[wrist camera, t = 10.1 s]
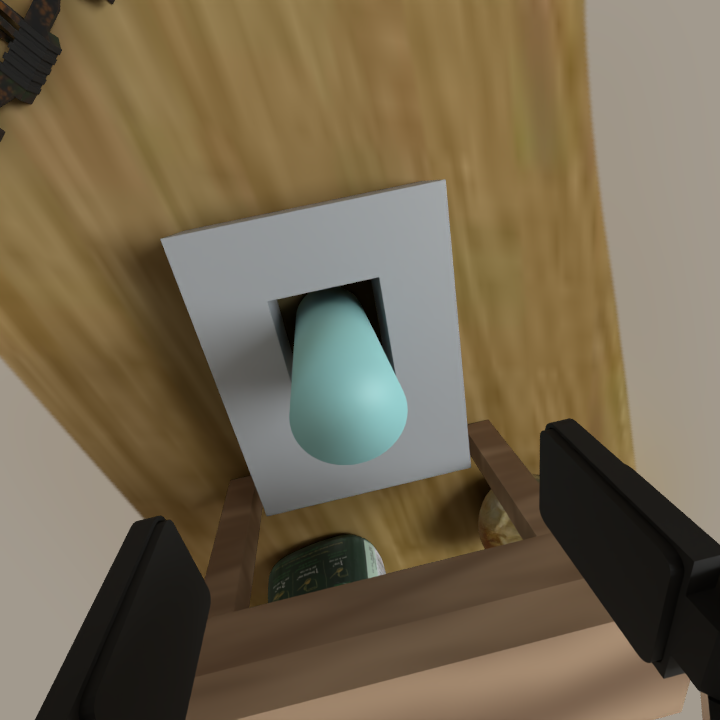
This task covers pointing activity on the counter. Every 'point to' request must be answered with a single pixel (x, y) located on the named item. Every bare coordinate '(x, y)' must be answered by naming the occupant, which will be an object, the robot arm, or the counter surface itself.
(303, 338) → the peg
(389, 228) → the socket
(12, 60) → the knife
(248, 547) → the open wooden frame
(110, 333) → the counter surface
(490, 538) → the onion
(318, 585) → the coffee jar
